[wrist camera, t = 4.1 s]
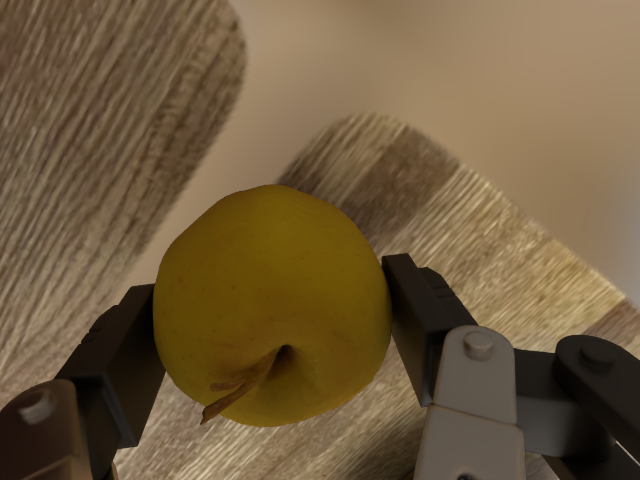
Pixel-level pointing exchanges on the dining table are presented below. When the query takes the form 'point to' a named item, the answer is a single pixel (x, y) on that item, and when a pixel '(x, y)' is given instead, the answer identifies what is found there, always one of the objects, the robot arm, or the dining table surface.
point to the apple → (271, 308)
